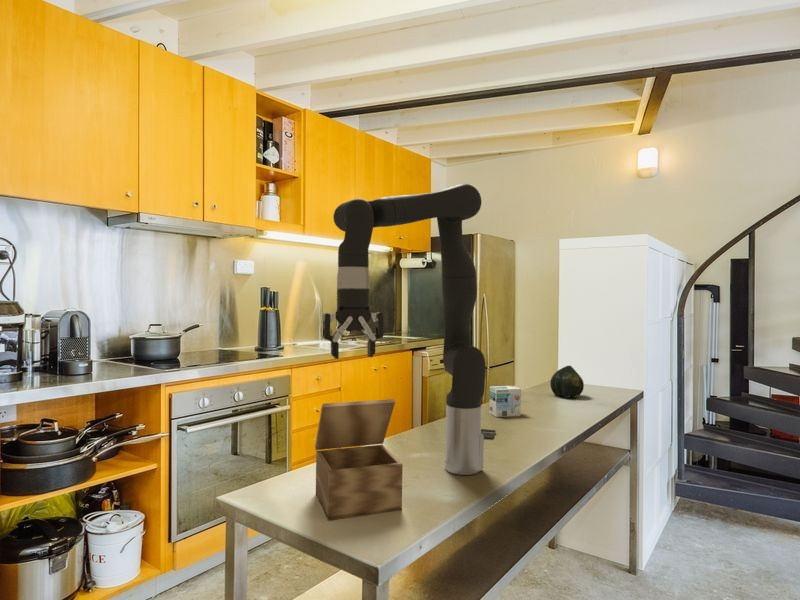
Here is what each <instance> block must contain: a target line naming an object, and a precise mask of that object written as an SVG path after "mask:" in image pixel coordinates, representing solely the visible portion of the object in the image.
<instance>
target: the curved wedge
mask: <svg viewBox="0 0 800 600" xmlns="http://www.w3.org/2000/svg"><path fill="white" fill-rule="evenodd" d="M496 431H497V430H495V429H487V428H486V429H485V428H481V434H483V435H484V440H494V439H495V434H496Z"/></svg>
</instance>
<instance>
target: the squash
mask: <svg viewBox="0 0 800 600" xmlns="http://www.w3.org/2000/svg"><path fill="white" fill-rule="evenodd" d="M549 385H550V388H551V391H552V393H553V394H554V395H556V396H559V397H561V396H562V397H564V398H565V399H569V398H571V399H572V398H576V397H578V396H579V395H581V394H582V393H583V391H584V387H585V385H584V380H583V378H582V376H581V375H579V373H578V372H577V371H576V369H574V367H573V366H571V365H566V366H564V367H561V368H560V369H558V370H557V371H555V372H554V373H553V375H552V376H551V379H550V384H549Z"/></svg>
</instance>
